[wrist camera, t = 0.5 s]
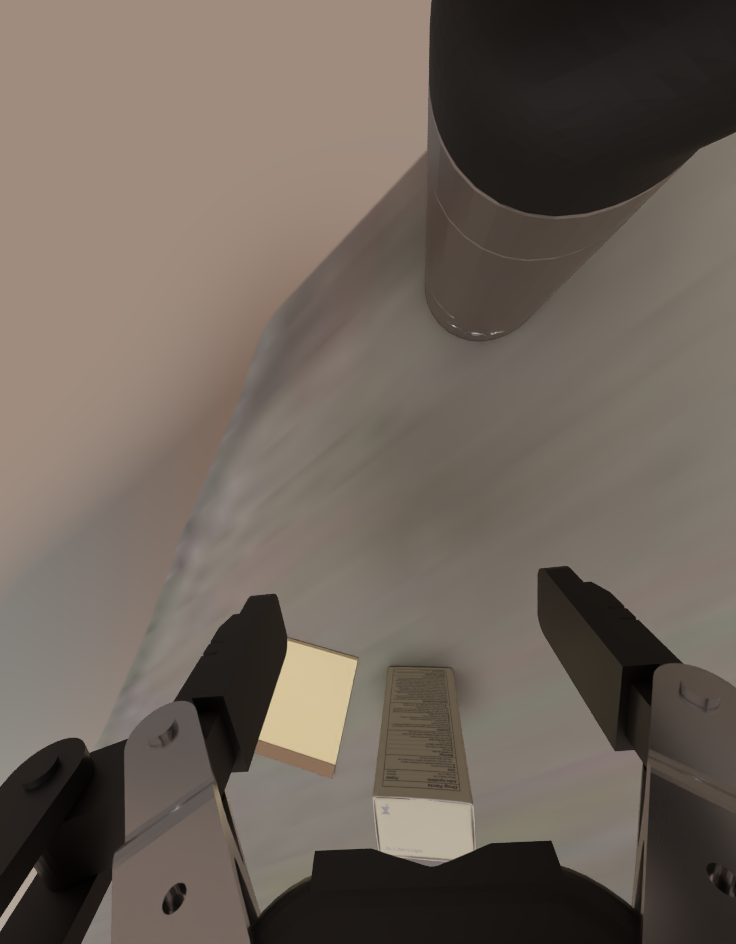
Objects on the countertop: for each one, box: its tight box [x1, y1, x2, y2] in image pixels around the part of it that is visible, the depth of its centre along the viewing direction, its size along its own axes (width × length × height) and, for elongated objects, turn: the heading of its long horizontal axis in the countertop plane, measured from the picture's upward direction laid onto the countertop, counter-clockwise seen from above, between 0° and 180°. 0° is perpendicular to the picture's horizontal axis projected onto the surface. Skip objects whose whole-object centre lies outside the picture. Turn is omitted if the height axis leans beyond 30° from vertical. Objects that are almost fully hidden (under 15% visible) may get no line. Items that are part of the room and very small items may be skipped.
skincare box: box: [373, 667, 475, 862], centre depth 27 cm, size 6×4×12 cm
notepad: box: [254, 638, 358, 779], centre depth 35 cm, size 14×11×1 cm
